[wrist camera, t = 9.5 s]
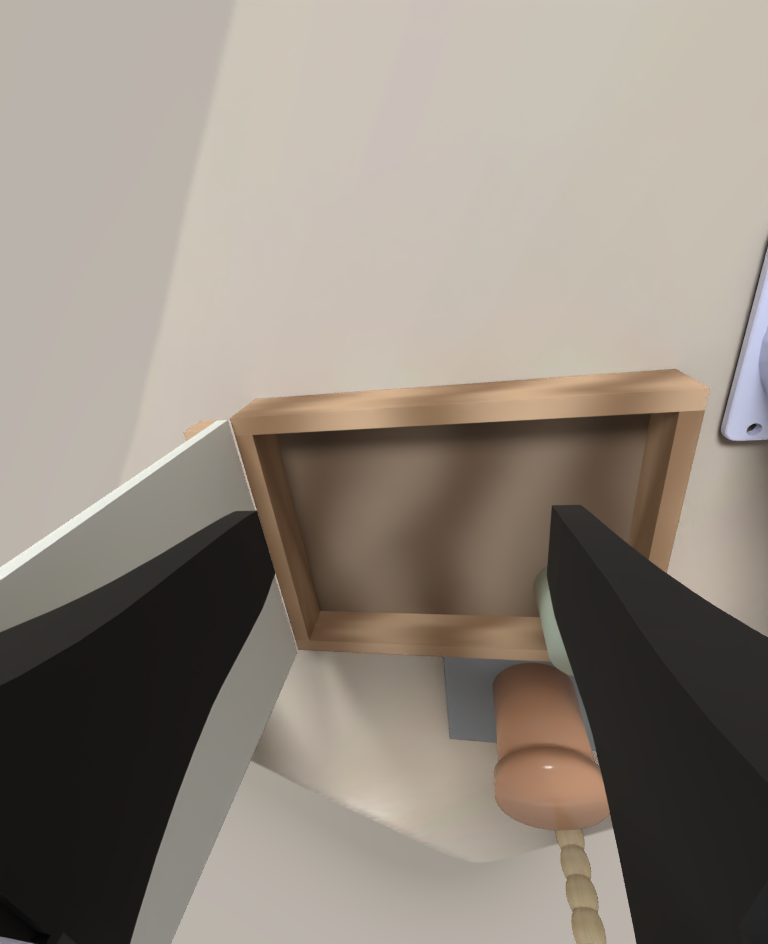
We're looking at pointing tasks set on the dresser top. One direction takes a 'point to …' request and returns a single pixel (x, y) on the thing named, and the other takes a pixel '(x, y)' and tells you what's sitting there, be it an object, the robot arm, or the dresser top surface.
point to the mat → (481, 697)
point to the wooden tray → (457, 501)
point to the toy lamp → (580, 888)
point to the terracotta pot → (544, 751)
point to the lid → (250, 679)
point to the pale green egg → (550, 624)
